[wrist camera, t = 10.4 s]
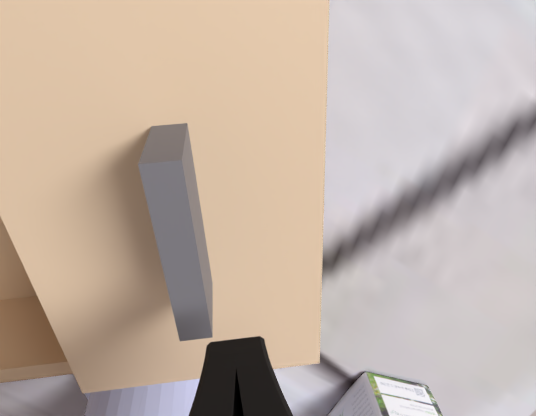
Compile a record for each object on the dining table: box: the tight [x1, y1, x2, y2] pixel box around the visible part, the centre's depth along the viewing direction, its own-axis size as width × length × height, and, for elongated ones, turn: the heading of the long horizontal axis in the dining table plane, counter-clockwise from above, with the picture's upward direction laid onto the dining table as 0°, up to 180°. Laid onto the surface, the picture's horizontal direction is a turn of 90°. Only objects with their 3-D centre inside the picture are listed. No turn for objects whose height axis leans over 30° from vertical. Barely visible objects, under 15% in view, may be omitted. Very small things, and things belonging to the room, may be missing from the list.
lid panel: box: [0, 0, 329, 394], centre depth 12 cm, size 16×10×3 cm, turn 3°
